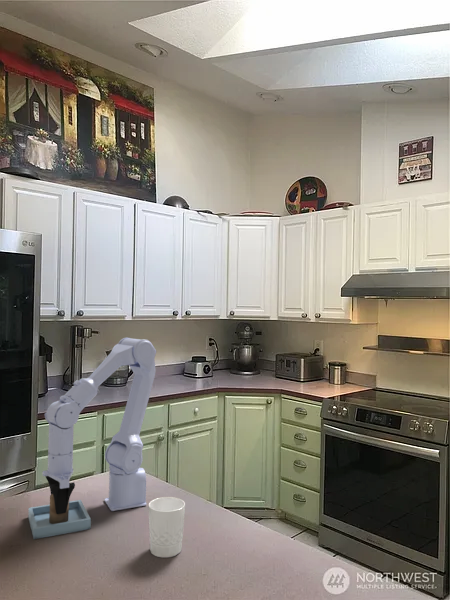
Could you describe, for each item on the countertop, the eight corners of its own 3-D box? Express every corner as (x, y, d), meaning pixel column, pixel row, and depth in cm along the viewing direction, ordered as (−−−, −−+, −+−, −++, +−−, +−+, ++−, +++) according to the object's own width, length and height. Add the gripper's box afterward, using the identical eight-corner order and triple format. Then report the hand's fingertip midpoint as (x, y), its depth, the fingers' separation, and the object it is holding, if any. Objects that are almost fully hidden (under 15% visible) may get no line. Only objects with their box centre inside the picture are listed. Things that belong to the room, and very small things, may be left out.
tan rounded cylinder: (67, 515, 121) (68, 490, 121) (69, 522, 117) (70, 497, 117) (48, 517, 119) (49, 493, 119) (49, 525, 115) (50, 500, 115)
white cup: (189, 545, 108) (190, 500, 108) (174, 562, 101) (175, 513, 101) (157, 538, 111) (158, 494, 111) (140, 555, 103) (142, 508, 104)
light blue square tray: (80, 508, 126) (80, 499, 126) (90, 528, 115) (90, 519, 115) (28, 517, 121) (28, 507, 121) (33, 539, 109) (33, 528, 109)
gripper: (39, 445, 123) (38, 499, 123) (47, 462, 110) (45, 523, 110) (68, 442, 126) (67, 495, 126) (79, 458, 113) (77, 517, 113)
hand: (59, 508), depth 118 cm, fingers open, 5 cm apart
